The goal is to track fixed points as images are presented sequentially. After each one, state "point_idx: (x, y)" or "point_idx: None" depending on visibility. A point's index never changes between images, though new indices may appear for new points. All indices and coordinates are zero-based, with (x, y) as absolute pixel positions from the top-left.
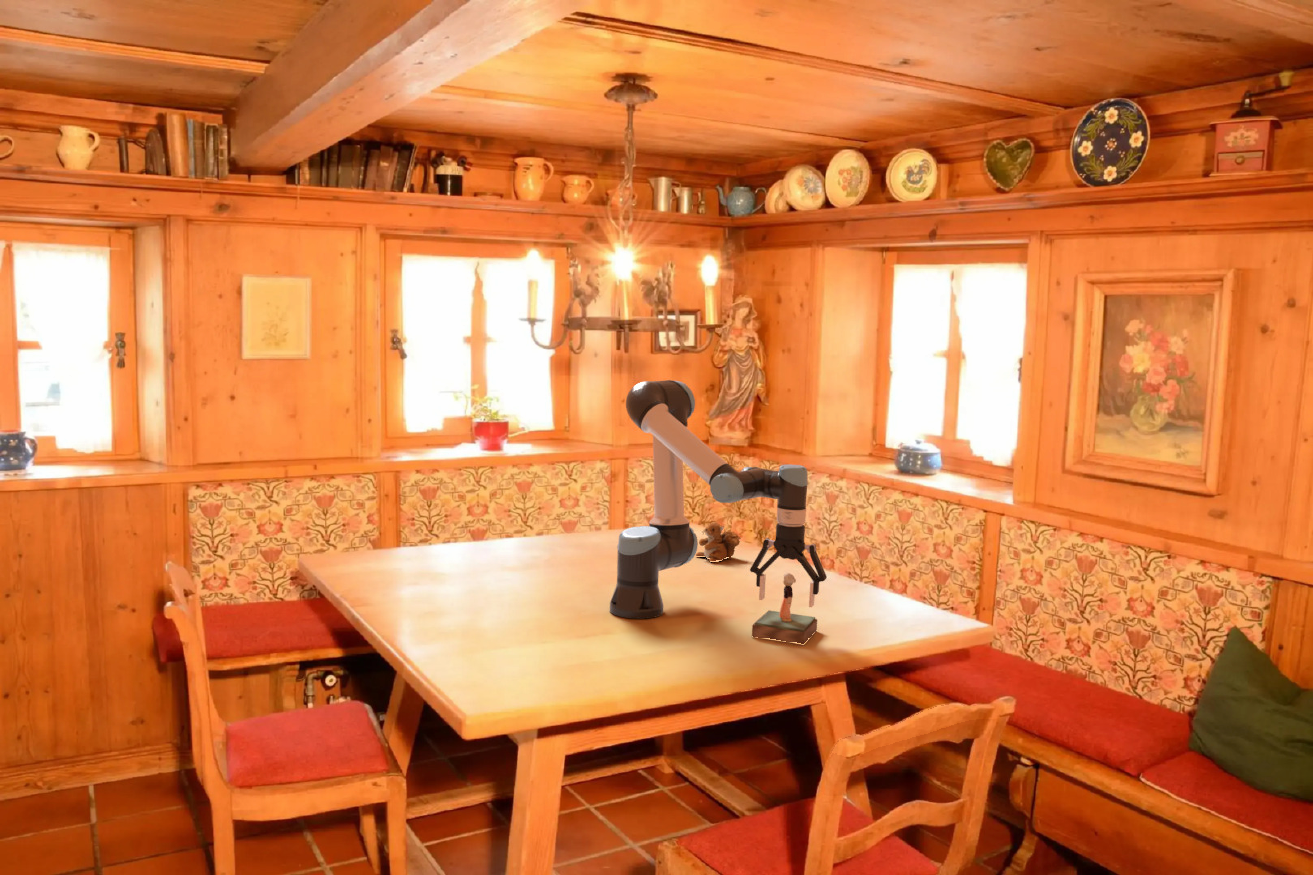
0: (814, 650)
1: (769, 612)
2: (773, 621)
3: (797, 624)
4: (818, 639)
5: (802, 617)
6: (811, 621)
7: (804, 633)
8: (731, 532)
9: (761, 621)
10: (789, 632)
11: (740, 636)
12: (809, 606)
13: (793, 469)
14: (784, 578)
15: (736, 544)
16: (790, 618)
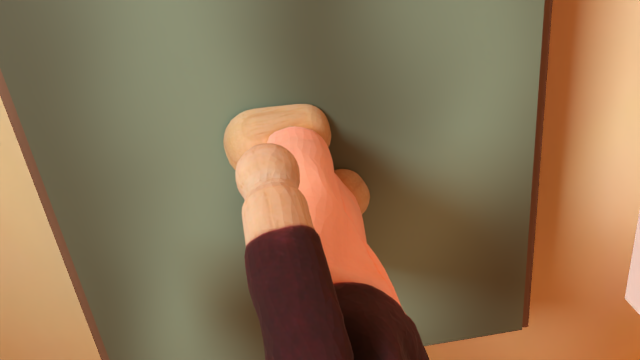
0: (567, 303)
1: (31, 50)
2: (233, 292)
3: (445, 244)
4: (557, 87)
5: (424, 1)
6: (537, 67)
7: (524, 322)
8: None
9: (149, 347)
10: None
11: (60, 349)
12: (634, 300)
13: None
14: None
15: None
16: (358, 200)
